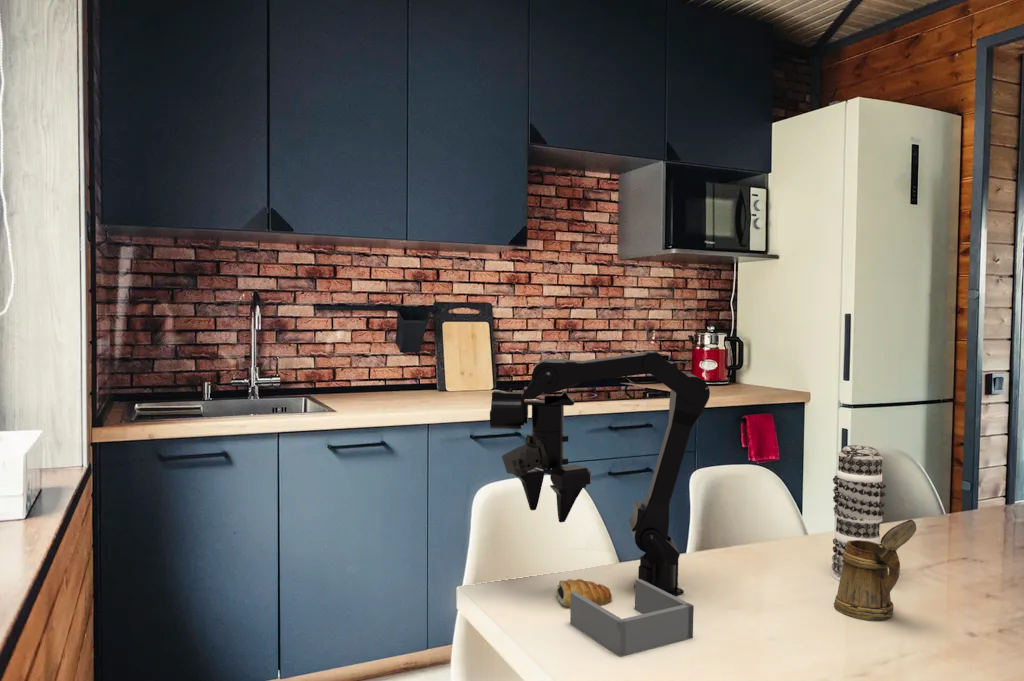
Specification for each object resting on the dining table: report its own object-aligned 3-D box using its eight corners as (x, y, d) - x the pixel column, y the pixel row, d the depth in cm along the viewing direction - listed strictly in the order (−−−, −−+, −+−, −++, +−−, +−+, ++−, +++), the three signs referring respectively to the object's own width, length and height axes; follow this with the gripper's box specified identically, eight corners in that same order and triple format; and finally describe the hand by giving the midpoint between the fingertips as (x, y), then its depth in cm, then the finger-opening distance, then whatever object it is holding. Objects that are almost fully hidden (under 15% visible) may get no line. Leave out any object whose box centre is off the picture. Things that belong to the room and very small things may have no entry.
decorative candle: (834, 584, 142) (838, 450, 141) (825, 567, 151) (830, 442, 150) (887, 589, 140) (892, 453, 138) (876, 572, 149) (880, 444, 147)
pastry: (604, 593, 136) (604, 572, 136) (617, 608, 130) (617, 586, 129) (553, 596, 134) (553, 575, 134) (563, 612, 128) (564, 589, 127)
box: (639, 607, 129) (639, 578, 129) (692, 637, 118) (693, 605, 118) (570, 623, 122) (570, 592, 122) (619, 656, 111) (620, 622, 111)
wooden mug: (885, 635, 120) (890, 522, 119) (822, 603, 132) (826, 500, 131) (928, 628, 123) (932, 517, 122) (862, 597, 135) (866, 497, 134)
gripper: (482, 426, 141) (482, 510, 141) (538, 441, 125) (538, 536, 125) (533, 421, 146) (533, 502, 147) (593, 435, 130) (592, 526, 131)
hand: (547, 515), depth 137 cm, fingers open, 9 cm apart
